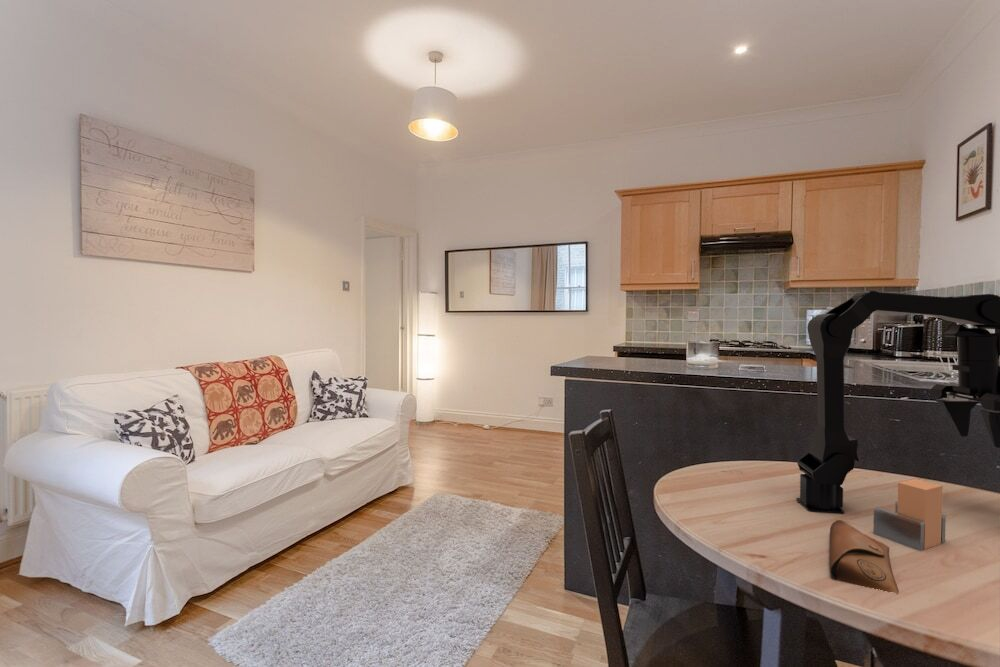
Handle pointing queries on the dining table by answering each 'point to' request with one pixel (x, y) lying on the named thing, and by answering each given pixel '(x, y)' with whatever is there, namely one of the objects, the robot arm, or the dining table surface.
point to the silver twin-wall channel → (902, 528)
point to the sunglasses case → (859, 559)
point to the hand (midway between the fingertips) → (980, 441)
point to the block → (922, 507)
